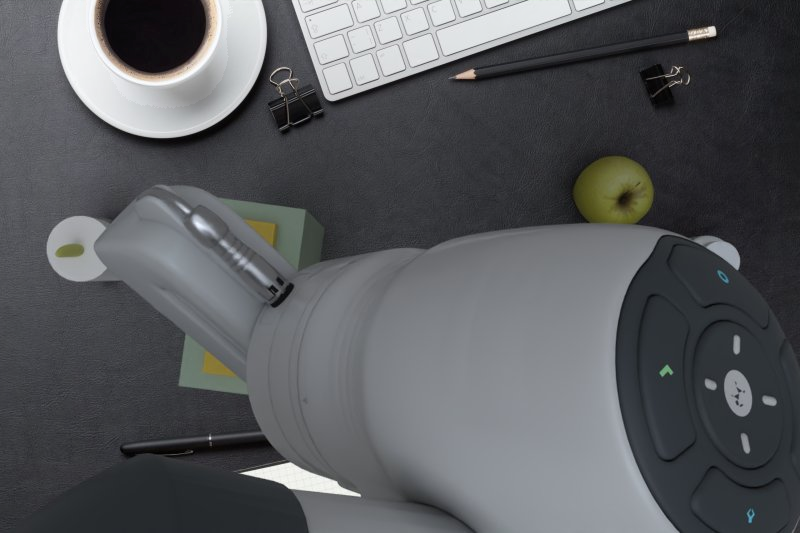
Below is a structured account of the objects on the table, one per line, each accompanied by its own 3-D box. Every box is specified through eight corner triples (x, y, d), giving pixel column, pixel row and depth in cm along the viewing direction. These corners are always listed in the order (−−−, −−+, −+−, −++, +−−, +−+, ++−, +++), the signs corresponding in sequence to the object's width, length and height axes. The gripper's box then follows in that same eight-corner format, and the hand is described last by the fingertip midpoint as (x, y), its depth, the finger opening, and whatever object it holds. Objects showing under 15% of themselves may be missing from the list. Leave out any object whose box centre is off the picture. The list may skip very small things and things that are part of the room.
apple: (571, 146, 84) (625, 141, 74) (628, 173, 86) (686, 171, 77) (546, 213, 84) (597, 216, 74) (603, 238, 86) (659, 245, 77)
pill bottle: (710, 279, 85) (754, 279, 75) (665, 292, 85) (702, 294, 75) (696, 232, 85) (738, 227, 75) (651, 246, 85) (687, 242, 75)
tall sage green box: (306, 363, 83) (280, 399, 59) (233, 354, 83) (178, 386, 59) (324, 228, 84) (306, 209, 60) (252, 218, 83) (204, 195, 59)
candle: (155, 233, 83) (107, 224, 68) (133, 289, 83) (80, 292, 68) (101, 212, 83) (41, 198, 68) (79, 268, 83) (14, 267, 68)
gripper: (98, 248, 25) (38, 276, 36) (487, 574, 32) (333, 510, 44) (220, 118, 27) (127, 183, 39) (553, 448, 35) (392, 419, 46)
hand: (238, 358), depth 41 cm, fingers open, 8 cm apart
